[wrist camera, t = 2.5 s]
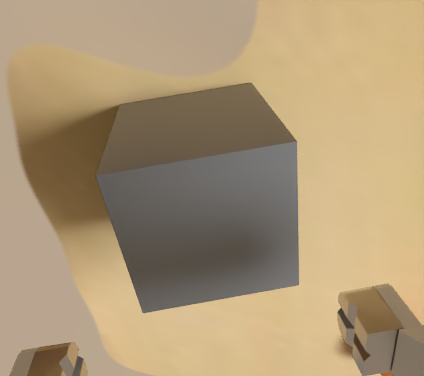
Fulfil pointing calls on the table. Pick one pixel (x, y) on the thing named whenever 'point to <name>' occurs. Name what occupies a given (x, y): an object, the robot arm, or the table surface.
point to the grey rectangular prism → (202, 196)
